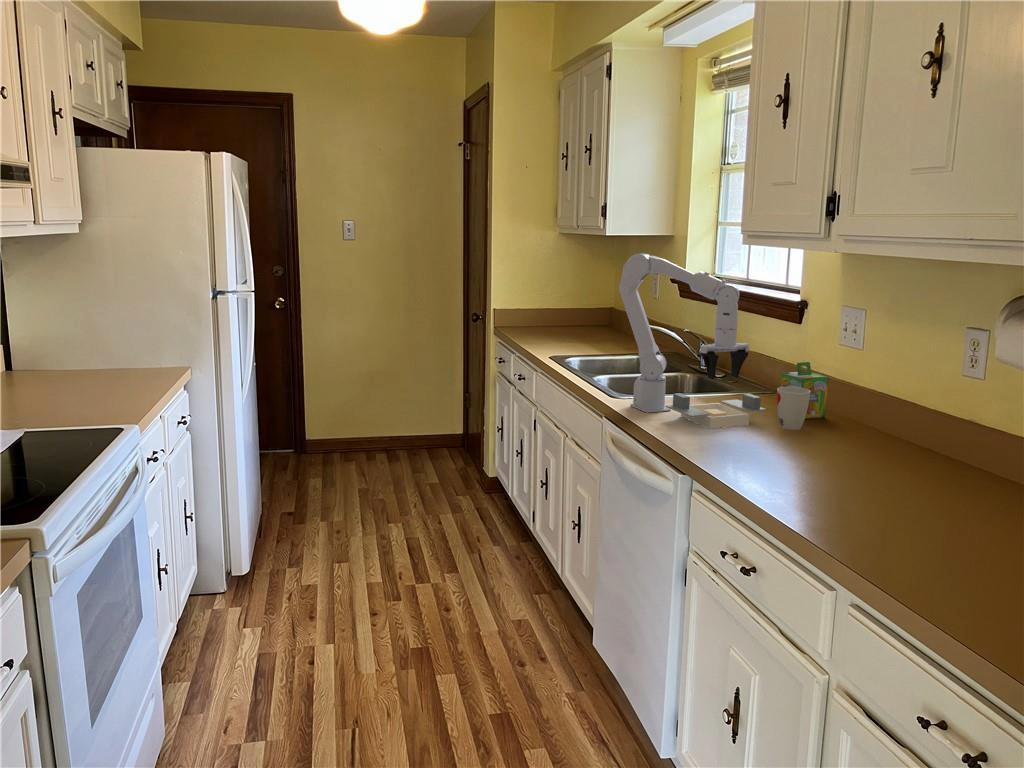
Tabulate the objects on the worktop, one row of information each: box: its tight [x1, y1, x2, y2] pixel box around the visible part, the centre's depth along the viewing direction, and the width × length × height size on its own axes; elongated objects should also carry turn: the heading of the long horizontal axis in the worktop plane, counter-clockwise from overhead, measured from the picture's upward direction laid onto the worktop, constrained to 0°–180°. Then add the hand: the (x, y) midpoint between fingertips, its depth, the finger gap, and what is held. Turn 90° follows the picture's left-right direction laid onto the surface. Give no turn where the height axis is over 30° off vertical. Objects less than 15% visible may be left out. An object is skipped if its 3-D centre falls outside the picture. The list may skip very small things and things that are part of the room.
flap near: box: [665, 392, 710, 417], centre depth 212 cm, size 12×6×4 cm, turn 21°
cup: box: [776, 386, 810, 431], centre depth 209 cm, size 8×8×10 cm
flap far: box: [720, 393, 767, 413], centre depth 218 cm, size 12×6×4 cm, turn 21°
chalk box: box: [780, 361, 830, 420], centre depth 222 cm, size 9×9×15 cm
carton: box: [680, 402, 751, 429], centre depth 216 cm, size 14×12×3 cm
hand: (723, 377), depth 221 cm, fingers open, 7 cm apart
